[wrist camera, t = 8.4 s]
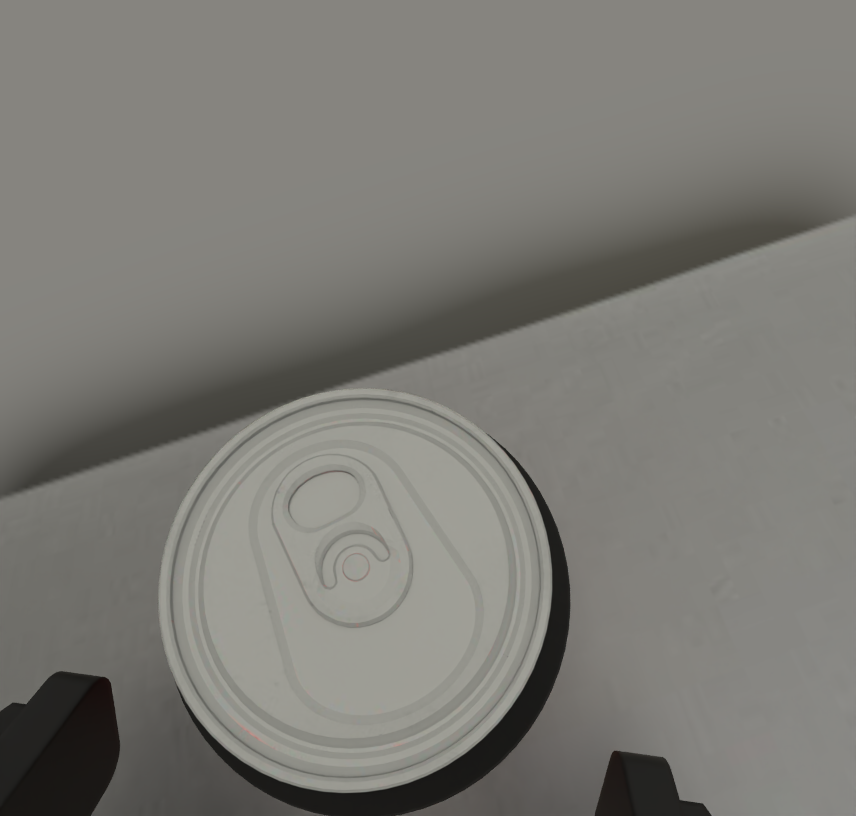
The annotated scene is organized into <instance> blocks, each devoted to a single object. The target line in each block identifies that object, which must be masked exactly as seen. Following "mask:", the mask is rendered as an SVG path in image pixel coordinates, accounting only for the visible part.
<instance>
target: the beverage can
mask: <svg viewBox="0 0 856 816" xmlns="http://www.w3.org/2000/svg"><path fill="white" fill-rule="evenodd" d="M158 609H159V623H160V629H161V635H162V641H163V646H164V649H165V653H166V657H167V660H168V664H169V666H170V669H171V671H172V674H173V676H174V680H175V683H176V685H177V688H178V691H179V693H180V696H181V698H182V701H183V703H184V705H185V707H186V709H187V711H188V713H189V715H190V716H191V718H192V720H193V722H194V723H195V725H196V726H197V728H198V730H199V731H200V733H201V734H202V736H203V737H204V739H205V740H206V741H207V742H208V743H209V745H210V746H211V747H212V748H213V749H214V751H215V752H216V753H217V754H218V755H219V756H220V757H221V758H222V759H223V760H224V761H225V762H226V763H227V764H228V765H229V766H230V767H231V768H232V769H233V770H234V771H235V772H237V773H238V774H239V775H241V776H242V777H243V778H244V779H246V780H247V781H248V782H250V783H251V784H252V785H254V786H255V787H257V788H259V789H260V790H262V791H263V792H265V793H267V794H268V795H270V796H272V797H274V798H276V799H278V800H280V801H283V802H285V803H287V804H289V805H291V806H294V807H297V808H300V809H304V810H307V811H310V812H313V813H318V814H323V815H328V816H395V815H402V814H405V813H409V812H413V811H416V810H420V809H424V808H426V807H429V806H431V805H434V804H436V803H439V802H442V801H444V800H446V799H448V798H450V797H452V796H454V795H456V794H458V793H459V792H461V791H463V790H465V789H466V788H468V787H469V786H471V785H472V784H474V783H475V782H477V781H478V780H480V779H481V778H483V777H484V776H485V775H486V774H488V773H489V772H490V771H491V770H492V769H494V768H495V767H496V766H497V765H498V764H500V763H501V762H502V761H503V760H504V759H505V758H506V756H507V755H508V754H509V753H510V752H511V751H512V750H513V749H514V748H515V747H516V746H517V745H518V743H519V742H520V741H521V740H522V738H523V737H524V736H525V735H526V733H527V732H528V731H529V729H530V728H531V726H532V725H533V723H534V722H535V720H536V719H537V717H538V715H539V714H540V712H541V711H542V709H543V707H544V705H545V703H546V701H547V699H548V697H549V695H550V693H551V691H552V688H553V686H554V683H555V680H556V678H557V675H558V673H559V670H560V666H561V662H562V659H563V655H564V652H565V647H566V641H567V635H568V630H569V618H570V584H569V575H568V567H567V562H566V557H565V553H564V548H563V545H562V541H561V538H560V535H559V532H558V529H557V526H556V524H555V522H554V519H553V517H552V514H551V512H550V510H549V508H548V506H547V504H546V502H545V500H544V498H543V497H542V495H541V493H540V491H539V490H538V488H537V487H536V485H535V484H534V482H533V481H532V479H531V478H530V476H529V475H528V474H527V472H526V471H525V470H524V469H523V467H522V466H521V465H520V464H519V462H518V461H517V460H516V459H515V458H514V457H513V456H512V455H511V454H510V453H509V452H508V451H507V450H506V449H505V448H504V447H503V446H501V445H500V444H499V443H498V442H497V441H496V440H494V439H493V438H492V437H491V436H489V435H488V434H486V433H485V432H484V431H482V430H481V429H480V428H479V427H478V426H476V425H475V424H473V423H472V422H471V421H469V420H468V419H466V418H465V417H463V416H462V415H460V414H458V413H456V412H454V411H453V410H451V409H449V408H447V407H445V406H443V405H440V404H438V403H436V402H434V401H431V400H428V399H425V398H422V397H419V396H416V395H412V394H408V393H404V392H400V391H393V390H386V389H374V388H353V389H342V390H334V391H328V392H324V393H319V394H314V395H311V396H308V397H305V398H301V399H298V400H296V401H293V402H291V403H288V404H286V405H283V406H281V407H279V408H277V409H275V410H273V411H271V412H269V413H267V414H266V415H264V416H262V417H261V418H259V419H258V420H256V421H254V422H253V423H251V424H250V425H248V426H247V427H246V428H244V429H243V430H242V431H240V432H239V433H238V434H236V435H235V436H234V437H233V438H232V439H231V440H230V441H229V442H228V443H226V444H225V445H224V446H223V447H222V448H221V449H220V450H219V451H218V452H217V453H216V454H215V456H214V457H213V458H212V459H211V460H210V461H209V462H208V464H207V465H206V466H205V467H204V469H203V470H202V471H201V472H200V474H199V475H198V476H197V478H196V480H195V481H194V483H193V484H192V486H191V487H190V489H189V490H188V492H187V494H186V496H185V498H184V499H183V501H182V503H181V505H180V507H179V509H178V511H177V514H176V516H175V519H174V521H173V523H172V526H171V529H170V532H169V535H168V538H167V541H166V544H165V549H164V553H163V558H162V562H161V569H160V577H159V591H158Z"/></svg>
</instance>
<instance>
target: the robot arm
mask: <svg viewBox="0 0 856 816" xmlns="http://www.w3.org/2000/svg"><path fill="white" fill-rule="evenodd" d="M119 751H120V740H119V734H118V727H117V721H116V714H115V707H114V701H113V694H112V688H111V683H110V681H109V680H108V679H107V678H105V677H99V676H92V675H85V674H78V673H71V672H63V671H59V672H56V673H55V674H53V675H52V676H50V677H49V678H48V679H47V680H46V681H45V683H44V684H43V685H42V686H41V687H40V689H39V690H38V691H37V692H36V693H35V695H34V696H33V697H32V698H31V699H30V701H29V702H28V703H27V704H19V703H12V704H10V705H9V706H7V707H6V708H4V709H3V710H2V711H0V816H91V814H92V812H93V811H94V809H95V807H96V806H97V804H98V802H99V801H100V799H101V797H102V796H103V794H104V792H105V791H106V789H107V787H108V785H109V783H110V781H111V779H112V777H113V774H114V772H115V769H116V765H117V762H118V757H119ZM595 816H711V814H710V813H709V811H708V810H707V809H706V807H705V806H704V804H702V803H695V802H688V801H681V800H679V796H678V793H677V789H676V785H675V782H674V778H673V775H672V772H671V769H670V766H669V764H668V762H667V760H666V759H665V758H663V757H657V756H650V755H643V754H636V753H629V752H622V751H614V752H613V753H612V755H611V758H610V761H609V765H608V768H607V772H606V776H605V779H604V783H603V786H602V790H601V794H600V797H599V801H598V805H597V808H596V812H595Z"/></svg>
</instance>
